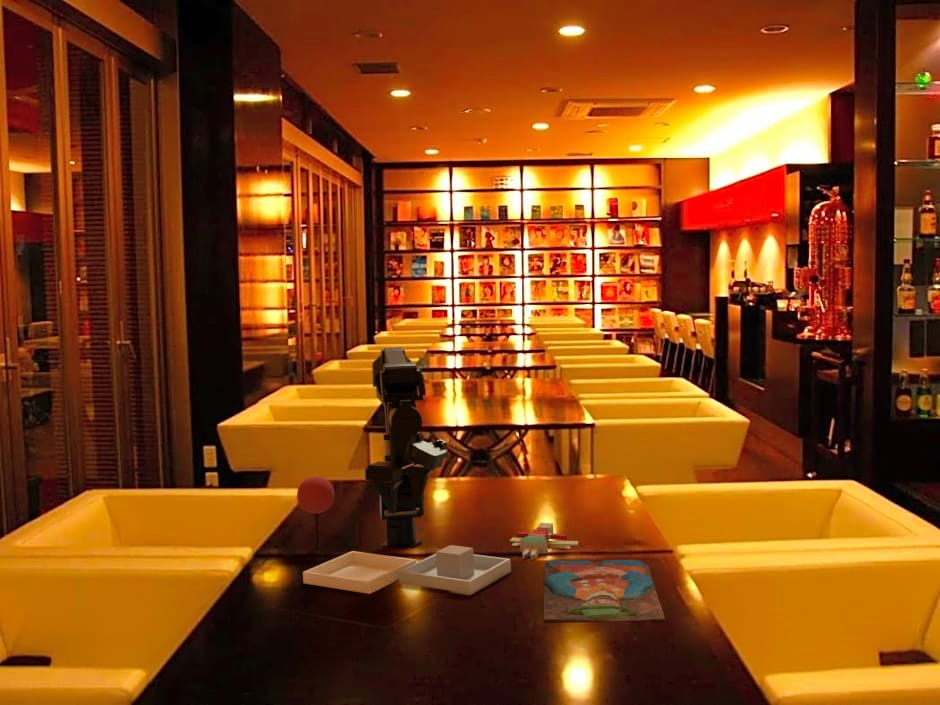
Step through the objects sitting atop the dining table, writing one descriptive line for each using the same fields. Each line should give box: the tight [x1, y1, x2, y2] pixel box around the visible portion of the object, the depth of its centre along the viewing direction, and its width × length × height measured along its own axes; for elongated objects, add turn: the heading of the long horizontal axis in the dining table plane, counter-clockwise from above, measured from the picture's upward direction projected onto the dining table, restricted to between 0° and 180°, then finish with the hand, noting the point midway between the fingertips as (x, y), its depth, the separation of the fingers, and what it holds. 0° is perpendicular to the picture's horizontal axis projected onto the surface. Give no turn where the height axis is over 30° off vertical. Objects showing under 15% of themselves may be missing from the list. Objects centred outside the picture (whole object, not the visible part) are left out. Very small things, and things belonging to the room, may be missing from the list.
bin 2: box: [398, 553, 512, 596], centre depth 190 cm, size 15×15×2 cm
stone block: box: [435, 544, 474, 580], centre depth 190 cm, size 5×5×5 cm
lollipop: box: [296, 476, 335, 548], centre depth 215 cm, size 8×8×15 cm
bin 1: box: [302, 550, 417, 595], centre depth 192 cm, size 15×15×2 cm
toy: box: [509, 522, 579, 561], centre depth 208 cm, size 15×4×15 cm
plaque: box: [543, 559, 666, 623], centre depth 179 cm, size 20×2×30 cm
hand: (406, 507), depth 198 cm, fingers open, 9 cm apart
